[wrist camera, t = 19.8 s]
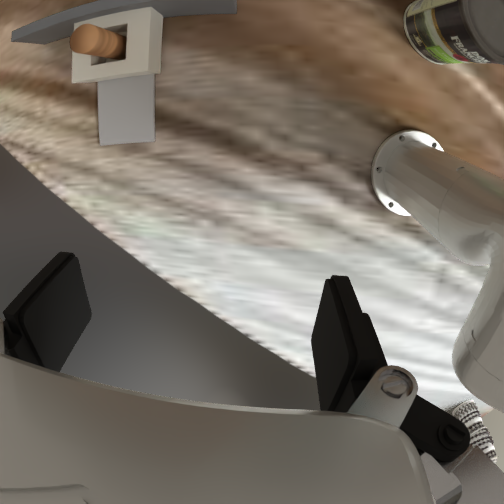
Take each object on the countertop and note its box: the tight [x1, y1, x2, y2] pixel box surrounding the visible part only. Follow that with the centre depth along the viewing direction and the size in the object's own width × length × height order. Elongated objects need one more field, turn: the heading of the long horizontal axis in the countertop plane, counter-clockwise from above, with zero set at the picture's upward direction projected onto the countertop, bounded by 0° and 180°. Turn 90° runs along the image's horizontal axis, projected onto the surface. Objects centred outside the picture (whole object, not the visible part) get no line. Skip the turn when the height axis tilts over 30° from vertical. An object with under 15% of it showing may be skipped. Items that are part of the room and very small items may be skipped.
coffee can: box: [403, 0, 504, 65], centre depth 22 cm, size 10×10×14 cm
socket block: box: [72, 7, 163, 83], centre depth 28 cm, size 10×8×5 cm
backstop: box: [11, 0, 237, 146], centre depth 29 cm, size 28×18×8 cm, turn 88°
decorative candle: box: [452, 399, 498, 463], centre depth 62 cm, size 9×9×25 cm
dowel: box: [70, 24, 127, 60], centre depth 25 cm, size 3×3×10 cm
